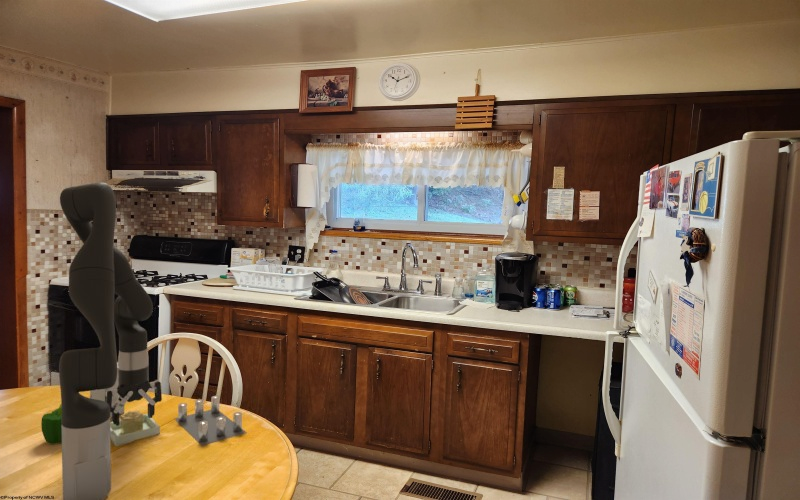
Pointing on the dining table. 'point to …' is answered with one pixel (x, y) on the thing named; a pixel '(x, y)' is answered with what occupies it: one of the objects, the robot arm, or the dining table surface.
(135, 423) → the yellow faceted hexagonal block
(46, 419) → the bell pepper
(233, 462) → the dining table surface
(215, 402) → the standing spacers
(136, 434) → the sage parts tray
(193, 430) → the mat
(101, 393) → the skincare box
